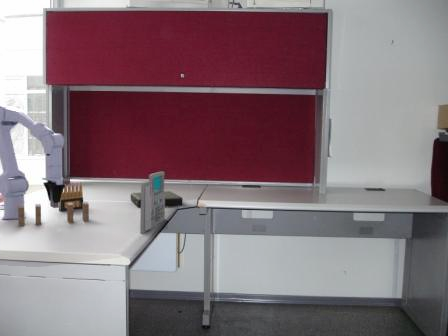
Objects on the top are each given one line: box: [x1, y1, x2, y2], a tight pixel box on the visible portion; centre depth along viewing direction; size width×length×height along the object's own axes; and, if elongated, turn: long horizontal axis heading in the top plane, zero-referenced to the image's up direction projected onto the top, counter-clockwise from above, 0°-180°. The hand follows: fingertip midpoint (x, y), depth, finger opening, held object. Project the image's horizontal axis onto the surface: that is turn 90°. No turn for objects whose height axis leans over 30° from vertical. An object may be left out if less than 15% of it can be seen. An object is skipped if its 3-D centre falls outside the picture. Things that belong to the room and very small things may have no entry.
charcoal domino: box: [49, 190, 59, 209], centre depth 150 cm, size 5×2×7 cm, turn 37°
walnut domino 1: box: [17, 204, 26, 227], centre depth 146 cm, size 5×2×7 cm, turn 25°
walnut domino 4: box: [81, 201, 90, 223], centre depth 155 cm, size 5×2×7 cm, turn 25°
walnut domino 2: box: [34, 203, 42, 226], centre depth 148 cm, size 5×2×7 cm, turn 25°
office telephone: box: [139, 171, 166, 234], centre depth 147 cm, size 23×3×20 cm, turn 170°
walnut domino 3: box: [66, 203, 74, 224], centre depth 153 cm, size 5×2×7 cm, turn 25°
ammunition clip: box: [58, 182, 84, 213], centre depth 175 cm, size 11×2×12 cm, turn 138°
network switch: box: [130, 190, 183, 209], centre depth 195 cm, size 23×23×5 cm
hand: (54, 201), depth 150 cm, fingers closed on charcoal domino, 5 cm apart
